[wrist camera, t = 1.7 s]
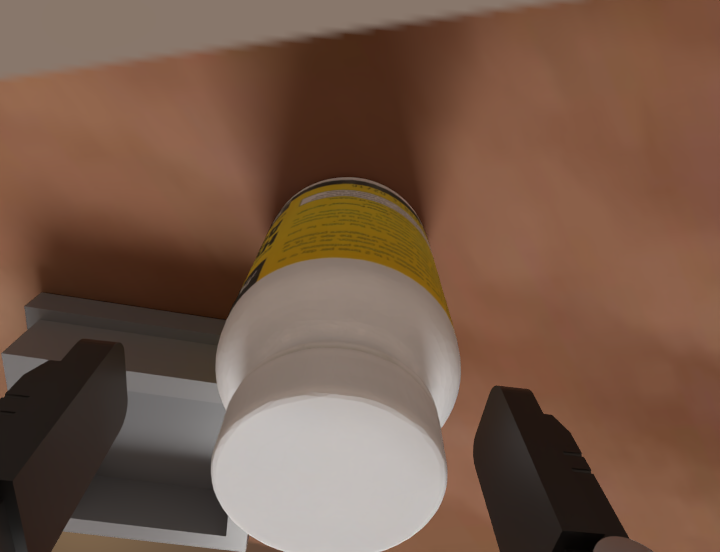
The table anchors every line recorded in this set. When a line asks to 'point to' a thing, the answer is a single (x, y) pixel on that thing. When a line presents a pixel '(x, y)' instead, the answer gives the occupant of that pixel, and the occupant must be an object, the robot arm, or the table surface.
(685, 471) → the table surface
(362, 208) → the supplement bottle
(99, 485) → the square open box
